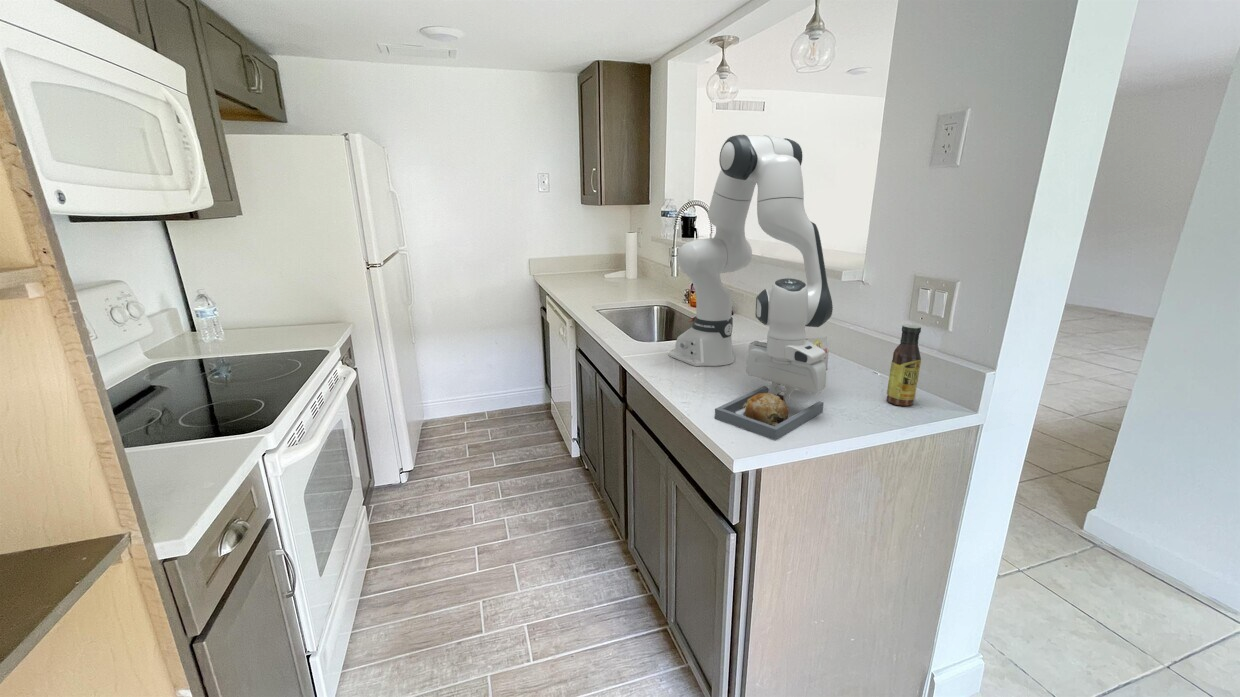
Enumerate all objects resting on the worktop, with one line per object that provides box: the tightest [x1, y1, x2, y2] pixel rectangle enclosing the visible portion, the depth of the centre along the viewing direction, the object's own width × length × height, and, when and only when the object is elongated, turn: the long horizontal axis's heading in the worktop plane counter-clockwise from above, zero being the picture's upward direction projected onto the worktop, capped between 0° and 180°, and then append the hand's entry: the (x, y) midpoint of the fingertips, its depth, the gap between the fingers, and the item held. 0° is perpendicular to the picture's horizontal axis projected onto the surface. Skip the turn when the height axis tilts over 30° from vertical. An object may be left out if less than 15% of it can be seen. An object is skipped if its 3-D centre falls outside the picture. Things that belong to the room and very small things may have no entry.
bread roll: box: [742, 392, 790, 426], centre depth 121 cm, size 10×10×8 cm
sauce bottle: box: [886, 324, 922, 407], centre depth 126 cm, size 7×6×20 cm
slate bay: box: [714, 385, 825, 441], centre depth 123 cm, size 16×21×2 cm
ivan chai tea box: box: [806, 336, 830, 372], centre depth 153 cm, size 4×7×10 cm, turn 100°
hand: (781, 400), depth 127 cm, fingers closed
